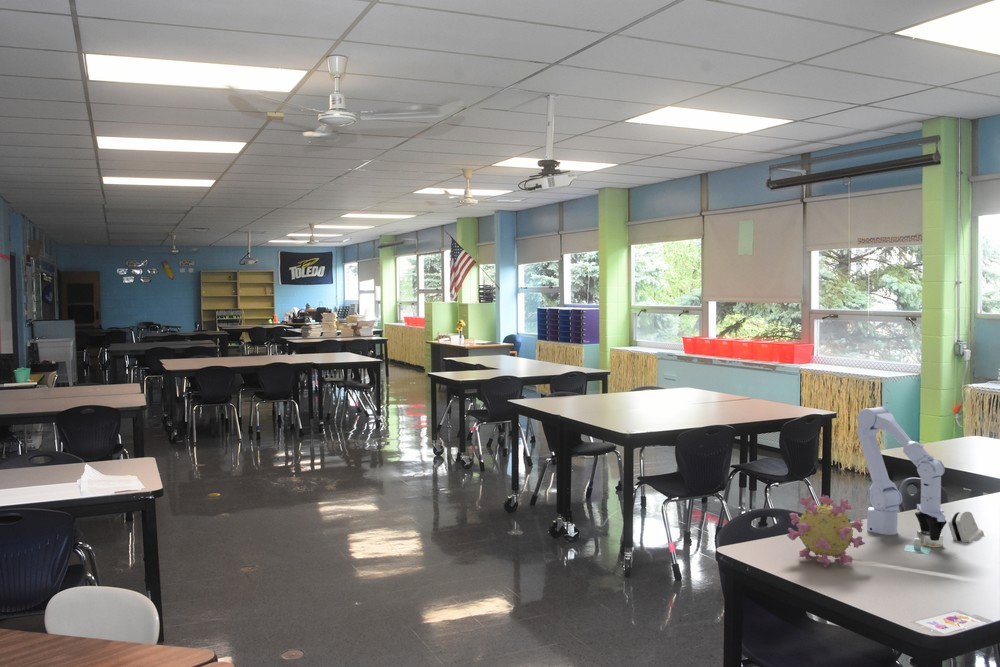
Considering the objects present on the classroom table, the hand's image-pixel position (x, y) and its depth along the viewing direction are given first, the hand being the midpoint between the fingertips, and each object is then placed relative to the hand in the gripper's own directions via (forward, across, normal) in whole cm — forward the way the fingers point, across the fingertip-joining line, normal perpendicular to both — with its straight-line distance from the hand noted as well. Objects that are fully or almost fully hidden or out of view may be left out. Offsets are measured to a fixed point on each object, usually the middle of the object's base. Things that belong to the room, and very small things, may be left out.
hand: (930, 537), depth 252 cm
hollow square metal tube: (+2, 0, 0) cm, 2 cm away
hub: (+3, 0, 0) cm, 3 cm away
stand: (+3, -6, +7) cm, 10 cm away
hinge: (+3, +9, -16) cm, 19 cm away
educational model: (+3, -16, +40) cm, 43 cm away
